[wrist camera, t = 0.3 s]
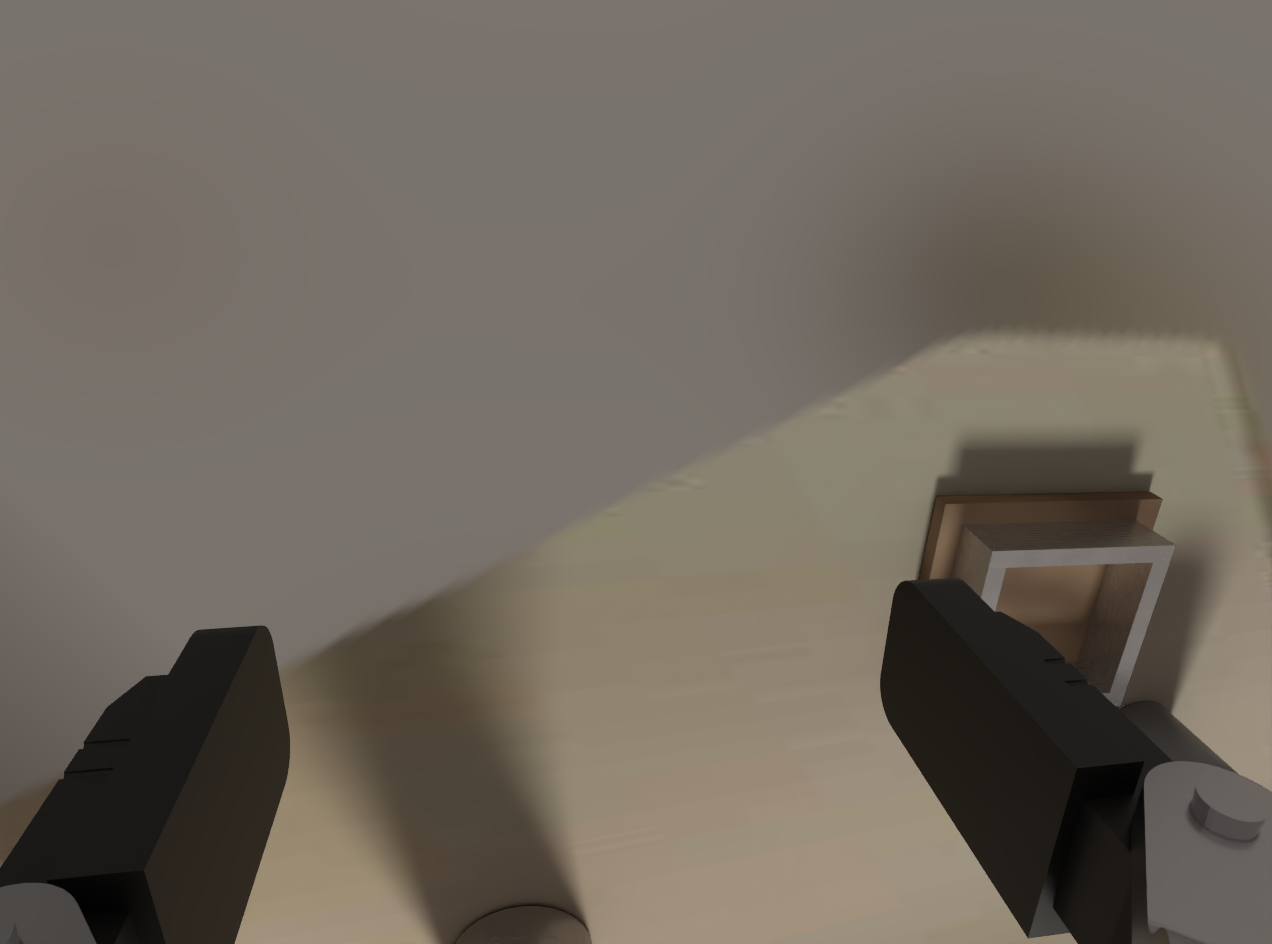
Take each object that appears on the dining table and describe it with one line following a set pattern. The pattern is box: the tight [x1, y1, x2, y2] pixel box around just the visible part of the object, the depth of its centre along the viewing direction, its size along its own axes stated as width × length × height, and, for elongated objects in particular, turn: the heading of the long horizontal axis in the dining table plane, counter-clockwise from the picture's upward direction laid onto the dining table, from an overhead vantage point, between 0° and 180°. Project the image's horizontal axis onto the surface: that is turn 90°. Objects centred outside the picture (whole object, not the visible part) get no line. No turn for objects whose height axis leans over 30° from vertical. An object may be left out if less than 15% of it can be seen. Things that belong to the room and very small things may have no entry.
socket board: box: [919, 492, 1163, 662], centre depth 48 cm, size 13×13×1 cm
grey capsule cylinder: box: [1120, 701, 1238, 774], centre depth 50 cm, size 5×5×11 cm
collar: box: [951, 520, 1176, 706], centre depth 46 cm, size 10×10×3 cm
